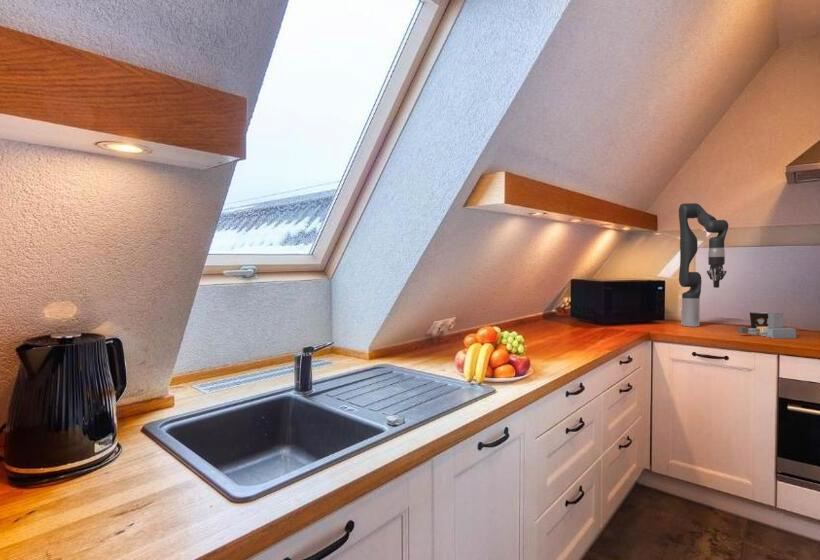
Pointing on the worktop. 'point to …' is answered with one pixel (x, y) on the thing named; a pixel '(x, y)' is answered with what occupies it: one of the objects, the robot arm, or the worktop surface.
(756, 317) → the coffee mug
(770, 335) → the vise
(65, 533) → the worktop surface
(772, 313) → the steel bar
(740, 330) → the vise jaw
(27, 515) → the worktop surface
